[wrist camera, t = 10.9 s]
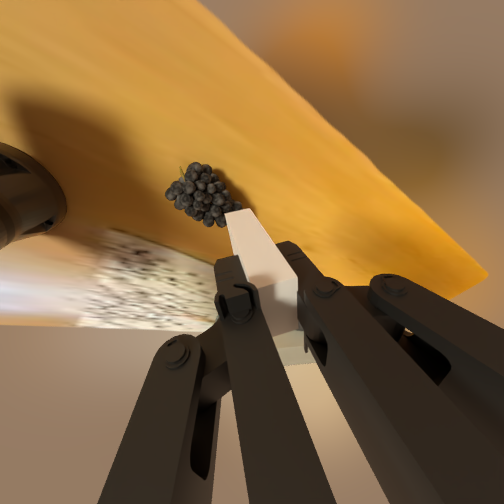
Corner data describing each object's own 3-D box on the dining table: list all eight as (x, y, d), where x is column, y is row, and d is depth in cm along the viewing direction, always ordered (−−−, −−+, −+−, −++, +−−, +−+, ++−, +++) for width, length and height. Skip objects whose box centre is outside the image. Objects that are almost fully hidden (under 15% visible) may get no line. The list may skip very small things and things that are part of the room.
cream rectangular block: (260, 309, 60) (269, 367, 47) (261, 290, 55) (271, 348, 42) (310, 305, 61) (333, 361, 48) (316, 286, 56) (342, 342, 43)
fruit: (256, 239, 34) (178, 172, 27) (223, 256, 39) (149, 204, 31) (261, 206, 40) (197, 142, 32) (231, 225, 45) (170, 174, 37)
